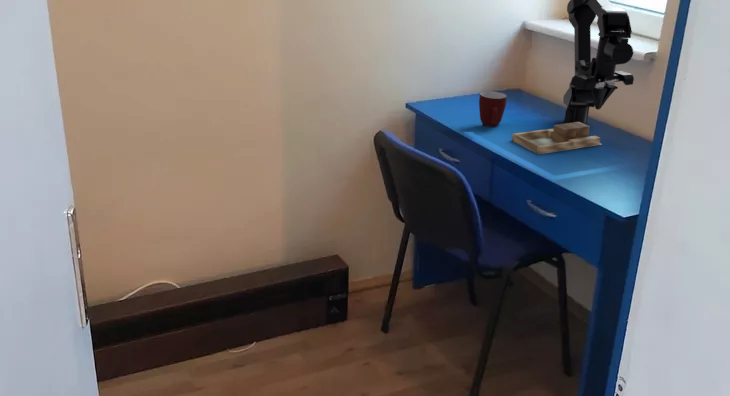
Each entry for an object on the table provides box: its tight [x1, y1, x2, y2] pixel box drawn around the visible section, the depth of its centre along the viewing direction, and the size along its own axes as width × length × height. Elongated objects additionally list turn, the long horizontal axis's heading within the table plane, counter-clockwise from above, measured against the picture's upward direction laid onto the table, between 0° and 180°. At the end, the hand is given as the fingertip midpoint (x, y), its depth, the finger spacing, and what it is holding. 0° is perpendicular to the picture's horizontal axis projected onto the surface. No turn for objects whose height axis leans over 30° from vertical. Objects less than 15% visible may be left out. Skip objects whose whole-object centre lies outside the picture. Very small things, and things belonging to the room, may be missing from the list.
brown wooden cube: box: [552, 122, 577, 143], centre depth 211 cm, size 4×4×4 cm
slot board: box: [511, 128, 603, 155], centre depth 210 cm, size 23×12×3 cm, turn 117°
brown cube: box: [567, 122, 591, 138], centre depth 213 cm, size 4×4×4 cm
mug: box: [478, 90, 508, 127], centre depth 222 cm, size 11×8×10 cm
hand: (597, 109), depth 213 cm, fingers closed
